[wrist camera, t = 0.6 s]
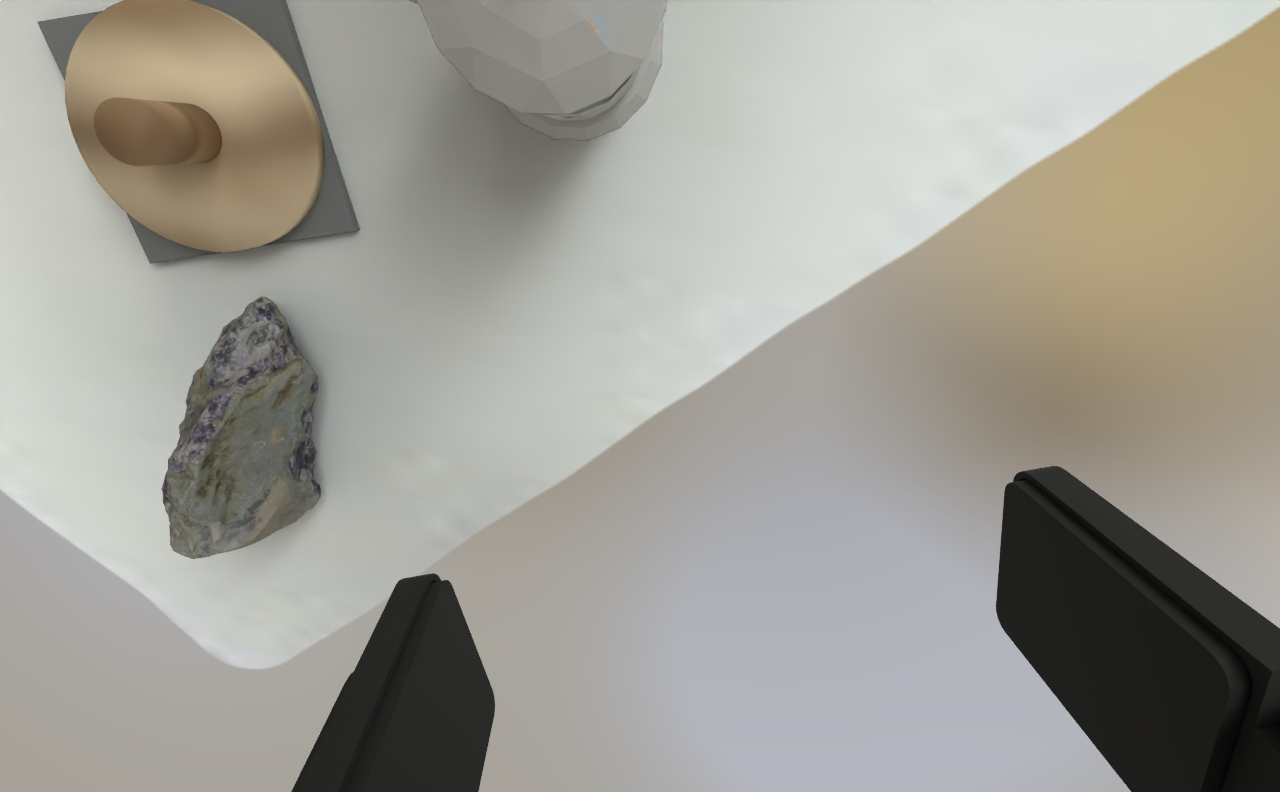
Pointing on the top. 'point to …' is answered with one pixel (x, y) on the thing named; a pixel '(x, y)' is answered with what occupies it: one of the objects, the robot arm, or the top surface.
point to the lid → (194, 124)
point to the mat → (268, 14)
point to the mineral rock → (243, 440)
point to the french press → (555, 57)
